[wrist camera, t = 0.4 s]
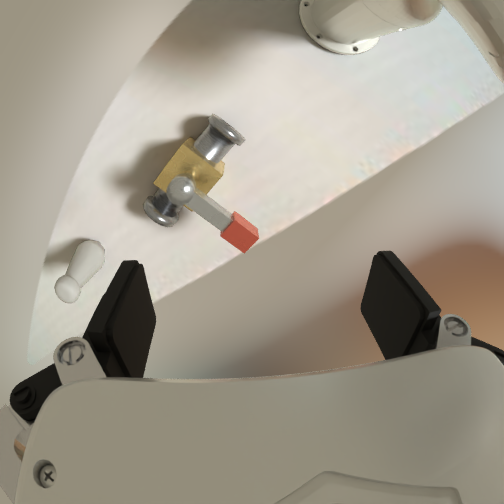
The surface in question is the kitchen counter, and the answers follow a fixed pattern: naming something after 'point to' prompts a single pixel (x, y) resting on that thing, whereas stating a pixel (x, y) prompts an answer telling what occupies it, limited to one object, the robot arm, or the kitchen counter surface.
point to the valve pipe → (193, 168)
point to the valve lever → (212, 212)
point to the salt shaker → (80, 270)
